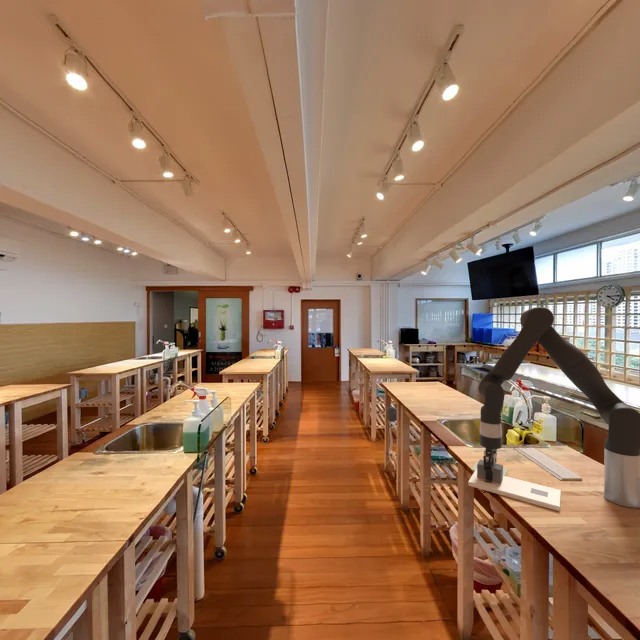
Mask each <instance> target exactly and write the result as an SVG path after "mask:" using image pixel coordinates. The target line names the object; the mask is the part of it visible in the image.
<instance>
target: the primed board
mask: <svg viewBox="0 0 640 640" xmlns="http://www.w3.org/2000/svg"><path fill="white" fill-rule="evenodd" d="M467 483H468V484H467V485H468V486H469V487H472V488H476V489H480V490H483V491H487V492H489V493H493V494H497V495H502V496H504V497H507V498H511V499H515V500H518V501H523V502H525V503H529V504H533V505H536V506H540V507H542V508H543V507H544V508H546V509H550V510H554V511H556V512H557V511H558V512H561V498H562V497H561V495H562V494H561V492H562V491H561V489H558V488H554V487H549V486H547V485H546V486H545V485H541V484H538V483H534V482H530V481H525V480H522V479H519V478H518V479H517V478H514V477H509V476H503V480H502V483H501V485H500V484H496V483H492V482H489V481H485V480H482V479H478V478H477V469H476V470H475V471H473V473H472V475H471V477H470V478H469V480H468V482H467Z"/></svg>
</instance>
